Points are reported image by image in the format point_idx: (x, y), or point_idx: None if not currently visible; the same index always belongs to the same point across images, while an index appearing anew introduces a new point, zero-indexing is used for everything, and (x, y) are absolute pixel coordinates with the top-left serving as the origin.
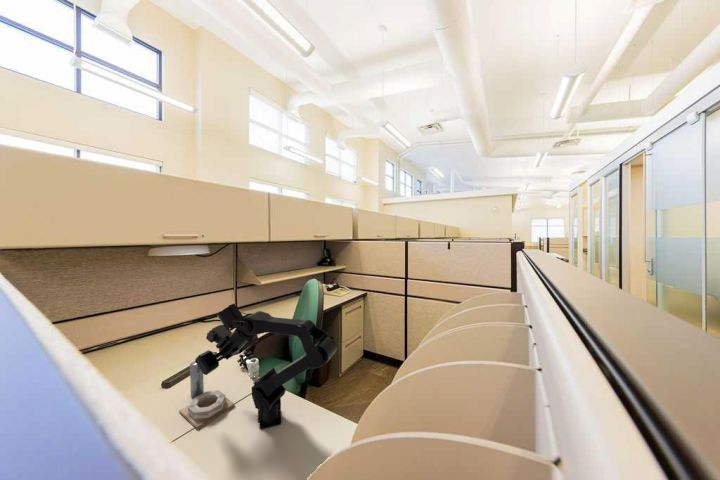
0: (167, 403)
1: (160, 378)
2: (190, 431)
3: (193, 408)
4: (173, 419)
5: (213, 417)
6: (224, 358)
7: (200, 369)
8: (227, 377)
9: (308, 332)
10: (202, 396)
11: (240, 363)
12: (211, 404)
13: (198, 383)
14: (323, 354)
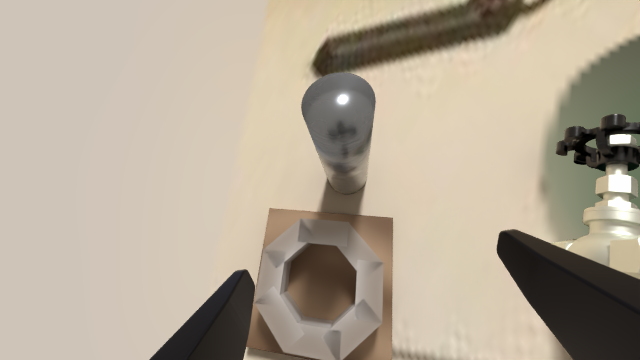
0: (280, 141)
1: (330, 23)
2: None
3: (267, 275)
4: (249, 223)
5: (301, 356)
6: (499, 254)
7: (219, 292)
8: (470, 171)
9: None
10: (323, 237)
11: (568, 144)
12: (337, 280)
13: (337, 176)
14: None
